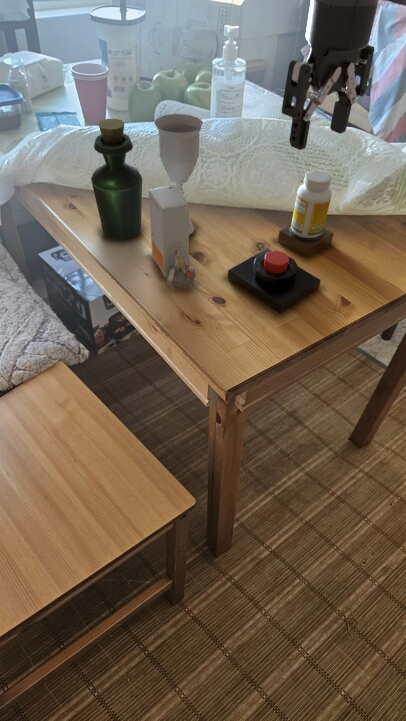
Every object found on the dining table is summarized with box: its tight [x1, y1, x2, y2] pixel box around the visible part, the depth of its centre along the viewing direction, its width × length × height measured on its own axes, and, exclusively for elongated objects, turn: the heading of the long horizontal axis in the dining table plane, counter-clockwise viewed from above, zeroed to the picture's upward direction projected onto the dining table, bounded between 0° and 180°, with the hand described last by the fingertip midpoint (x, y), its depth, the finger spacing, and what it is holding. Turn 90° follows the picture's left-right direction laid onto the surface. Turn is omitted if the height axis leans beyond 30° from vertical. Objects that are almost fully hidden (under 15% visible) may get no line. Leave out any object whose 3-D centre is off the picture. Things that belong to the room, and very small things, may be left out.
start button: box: [264, 250, 290, 274], centre depth 76 cm, size 4×4×2 cm
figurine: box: [166, 250, 197, 289], centre depth 76 cm, size 5×4×6 cm
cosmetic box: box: [148, 184, 190, 278], centre depth 77 cm, size 6×4×12 cm
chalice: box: [154, 113, 204, 236], centre depth 82 cm, size 7×7×18 cm
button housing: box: [227, 247, 322, 314], centre depth 77 cm, size 11×9×4 cm
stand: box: [277, 224, 335, 259], centre depth 86 cm, size 6×6×2 cm
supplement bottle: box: [290, 169, 333, 238], centre depth 81 cm, size 5×5×10 cm
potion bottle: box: [90, 118, 143, 241], centre depth 81 cm, size 8×8×18 cm
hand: (318, 139), depth 69 cm, fingers open, 8 cm apart
